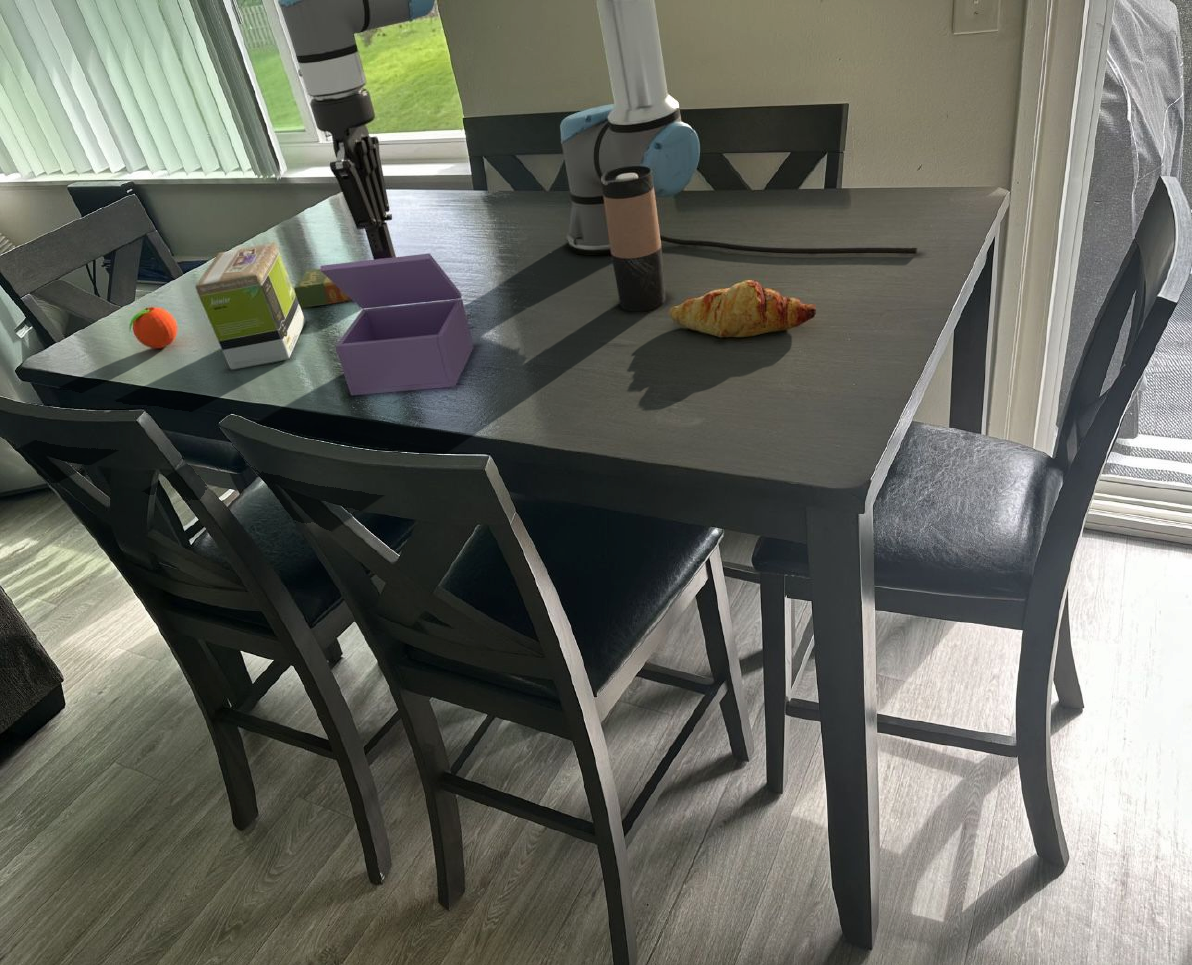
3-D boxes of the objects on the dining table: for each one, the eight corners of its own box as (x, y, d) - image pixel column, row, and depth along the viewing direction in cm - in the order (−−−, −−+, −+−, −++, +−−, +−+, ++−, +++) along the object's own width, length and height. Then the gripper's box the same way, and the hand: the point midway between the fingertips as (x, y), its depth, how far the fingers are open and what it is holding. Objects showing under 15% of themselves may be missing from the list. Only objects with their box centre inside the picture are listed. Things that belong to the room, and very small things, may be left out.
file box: (455, 386, 131) (441, 336, 127) (350, 395, 134) (334, 346, 129) (474, 346, 141) (462, 298, 137) (376, 355, 144) (362, 309, 140)
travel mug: (672, 291, 147) (658, 164, 136) (659, 312, 142) (643, 180, 131) (627, 292, 150) (609, 166, 139) (612, 312, 144) (592, 183, 133)
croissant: (668, 354, 137) (654, 321, 130) (680, 299, 141) (667, 264, 134) (814, 354, 129) (808, 319, 122) (823, 296, 133) (817, 259, 127)
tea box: (249, 332, 160) (218, 250, 152) (307, 322, 160) (278, 239, 152) (228, 371, 148) (192, 283, 139) (290, 360, 147) (258, 272, 139)
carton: (386, 297, 165) (379, 274, 162) (299, 309, 166) (291, 286, 164) (395, 279, 172) (389, 257, 169) (312, 290, 173) (304, 268, 171)
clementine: (153, 360, 156) (135, 321, 152) (129, 355, 160) (111, 317, 156) (192, 339, 162) (175, 301, 158) (167, 335, 165) (151, 298, 161)
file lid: (429, 258, 124) (429, 253, 124) (320, 270, 126) (320, 265, 127) (461, 298, 137) (461, 293, 137) (361, 308, 139) (361, 303, 139)
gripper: (328, 85, 123) (376, 256, 136) (291, 108, 113) (347, 291, 126) (381, 78, 122) (425, 251, 135) (349, 100, 111) (400, 285, 124)
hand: (388, 270), depth 130 cm, fingers closed
